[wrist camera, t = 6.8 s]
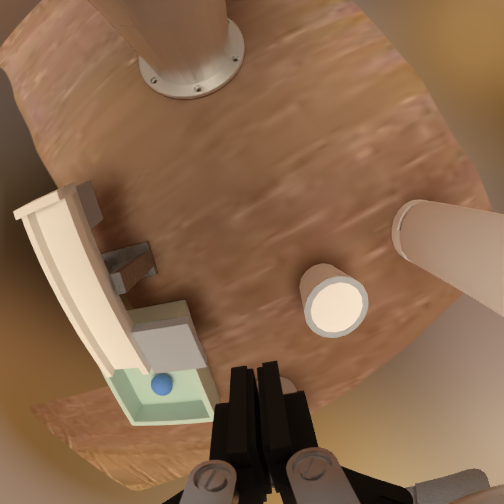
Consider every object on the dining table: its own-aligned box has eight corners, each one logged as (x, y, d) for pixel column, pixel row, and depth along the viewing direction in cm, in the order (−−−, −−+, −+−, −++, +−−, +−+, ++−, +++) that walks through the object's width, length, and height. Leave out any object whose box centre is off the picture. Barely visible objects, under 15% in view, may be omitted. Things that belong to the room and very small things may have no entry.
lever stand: (93, 255, 34) (52, 278, 25) (148, 240, 34) (116, 261, 25) (102, 284, 35) (65, 314, 26) (157, 272, 35) (130, 302, 25)
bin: (99, 315, 36) (82, 331, 31) (185, 299, 36) (176, 316, 31) (141, 404, 40) (132, 425, 35) (220, 397, 39) (217, 420, 34)
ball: (157, 383, 38) (148, 371, 36) (177, 381, 38) (168, 369, 36) (155, 400, 35) (145, 388, 34) (175, 399, 35) (166, 386, 34)
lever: (47, 193, 24) (13, 211, 19) (144, 155, 24) (121, 165, 18) (122, 353, 33) (109, 388, 28) (209, 340, 33) (206, 379, 27)
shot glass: (305, 320, 36) (317, 348, 30) (285, 272, 35) (294, 294, 28) (355, 297, 36) (375, 321, 29) (337, 249, 34) (358, 264, 28)
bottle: (395, 268, 35) (563, 392, 8) (386, 206, 33) (597, 270, 6) (442, 252, 35) (606, 337, 7) (436, 193, 33) (625, 233, 6)
